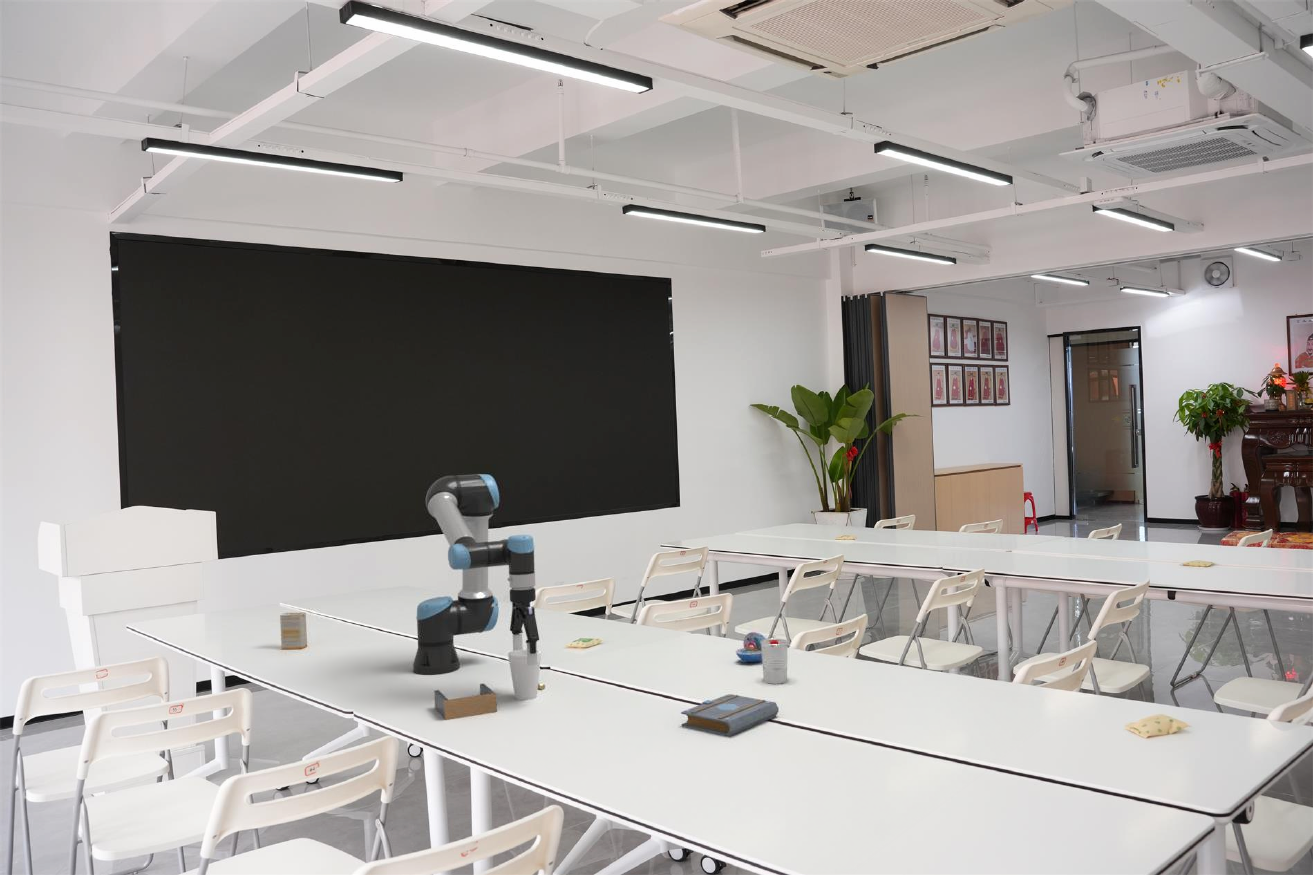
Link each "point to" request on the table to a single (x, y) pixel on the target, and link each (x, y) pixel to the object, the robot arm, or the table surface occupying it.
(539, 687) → the brass key
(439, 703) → the channel
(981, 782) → the table surface
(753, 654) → the cell model
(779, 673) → the ribbed metal can
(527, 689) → the foam cup
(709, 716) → the book
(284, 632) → the supplement box
